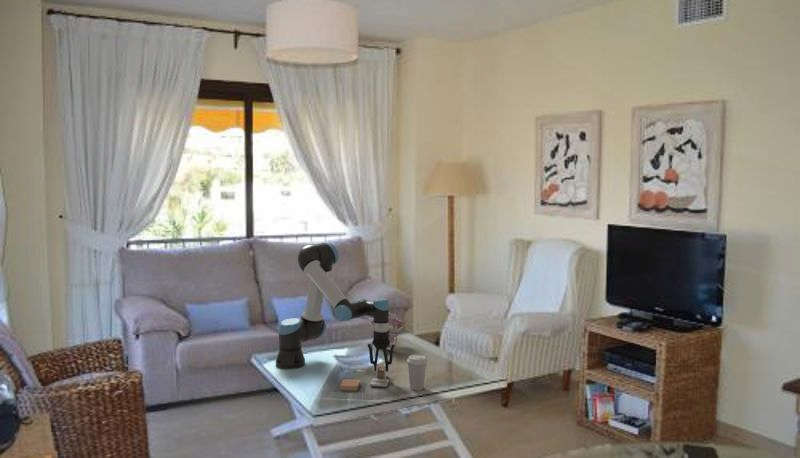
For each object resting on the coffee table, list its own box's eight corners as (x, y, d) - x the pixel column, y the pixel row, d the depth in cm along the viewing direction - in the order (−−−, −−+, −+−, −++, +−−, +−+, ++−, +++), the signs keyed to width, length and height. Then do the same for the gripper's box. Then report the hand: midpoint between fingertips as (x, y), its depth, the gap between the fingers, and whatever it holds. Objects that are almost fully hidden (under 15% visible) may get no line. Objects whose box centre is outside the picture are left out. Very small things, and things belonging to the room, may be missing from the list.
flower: (421, 345, 382) (407, 303, 387) (400, 350, 362) (385, 306, 368) (393, 355, 391) (380, 314, 397) (371, 361, 372) (358, 318, 377)
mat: (338, 382, 322) (338, 381, 322) (367, 383, 321) (367, 382, 321) (333, 392, 309) (333, 391, 309) (363, 393, 308) (363, 392, 308)
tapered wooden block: (374, 373, 332) (374, 364, 332) (390, 374, 332) (390, 364, 331) (369, 385, 314) (369, 375, 314) (386, 386, 314) (386, 376, 313)
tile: (343, 379, 319) (340, 385, 310) (360, 379, 318) (357, 386, 309) (343, 383, 319) (340, 390, 310) (360, 384, 318) (357, 391, 309)
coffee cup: (409, 392, 310) (409, 360, 308) (404, 385, 319) (405, 354, 318) (429, 391, 312) (429, 359, 310) (424, 384, 321) (424, 353, 320)
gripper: (363, 332, 320) (363, 379, 322) (397, 333, 318) (396, 380, 321) (365, 328, 327) (365, 374, 329) (398, 329, 326) (398, 375, 328)
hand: (381, 377), depth 325 cm, fingers closed on tapered wooden block, 3 cm apart
